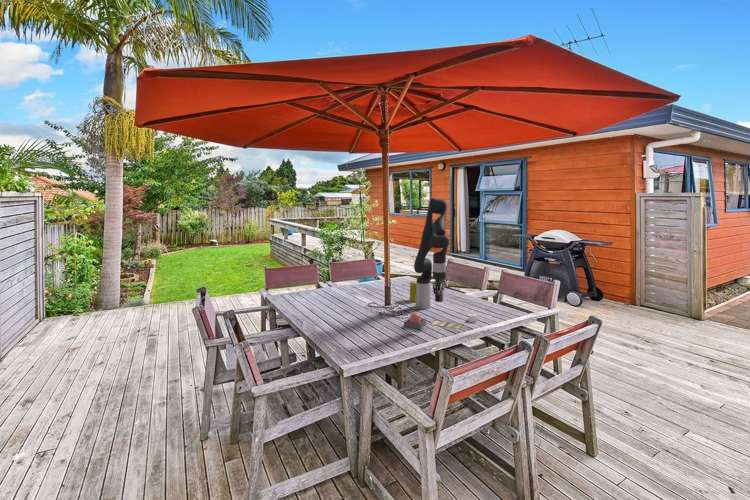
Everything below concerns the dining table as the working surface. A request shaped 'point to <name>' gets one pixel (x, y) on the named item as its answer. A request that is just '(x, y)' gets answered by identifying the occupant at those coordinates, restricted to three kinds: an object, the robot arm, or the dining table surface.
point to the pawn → (440, 296)
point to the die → (472, 318)
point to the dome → (415, 318)
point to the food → (413, 290)
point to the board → (446, 324)
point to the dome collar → (415, 324)
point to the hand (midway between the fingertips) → (438, 299)
